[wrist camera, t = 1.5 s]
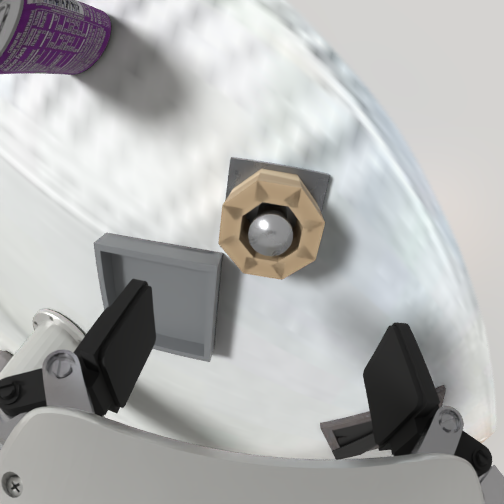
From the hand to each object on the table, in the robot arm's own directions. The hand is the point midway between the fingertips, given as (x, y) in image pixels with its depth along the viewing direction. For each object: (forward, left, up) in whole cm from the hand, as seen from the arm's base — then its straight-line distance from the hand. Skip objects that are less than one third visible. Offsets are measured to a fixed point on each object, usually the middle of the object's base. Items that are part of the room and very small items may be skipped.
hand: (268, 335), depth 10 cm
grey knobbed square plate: (0, 0, -15) cm, 15 cm away
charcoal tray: (-11, +10, -15) cm, 21 cm away
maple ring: (0, 0, -15) cm, 15 cm away
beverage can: (+15, +20, -15) cm, 29 cm away
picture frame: (-34, -27, -16) cm, 46 cm away
